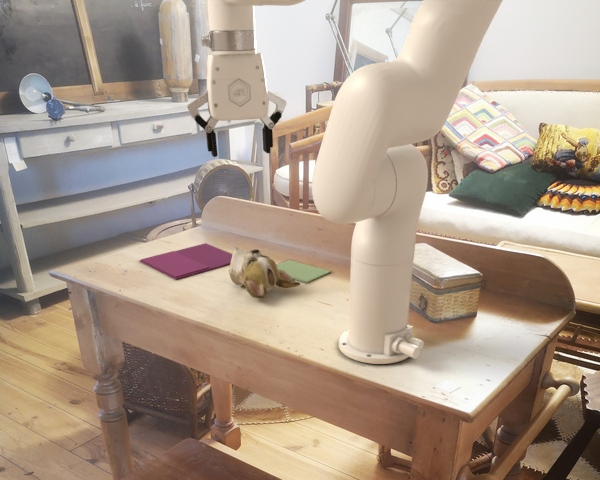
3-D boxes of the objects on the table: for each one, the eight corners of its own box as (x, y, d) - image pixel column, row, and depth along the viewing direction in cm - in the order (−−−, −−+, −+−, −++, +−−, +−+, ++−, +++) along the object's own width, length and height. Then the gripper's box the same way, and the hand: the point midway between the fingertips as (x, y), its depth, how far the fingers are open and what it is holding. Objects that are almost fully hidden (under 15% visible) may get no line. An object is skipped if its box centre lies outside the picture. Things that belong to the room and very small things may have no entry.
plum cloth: (244, 260, 136) (244, 258, 136) (176, 279, 126) (176, 277, 126) (205, 244, 146) (205, 242, 146) (139, 261, 136) (139, 259, 136)
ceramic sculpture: (255, 234, 123) (303, 255, 114) (256, 273, 128) (302, 296, 119) (212, 245, 117) (260, 269, 108) (215, 286, 122) (261, 312, 113)
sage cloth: (330, 272, 129) (330, 271, 128) (306, 283, 123) (306, 281, 123) (289, 260, 135) (289, 259, 135) (265, 270, 130) (265, 269, 130)
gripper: (183, 45, 94) (195, 160, 103) (289, 42, 97) (292, 154, 106) (178, 45, 100) (190, 153, 109) (278, 42, 103) (282, 147, 113)
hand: (240, 153), depth 108 cm, fingers open, 9 cm apart
